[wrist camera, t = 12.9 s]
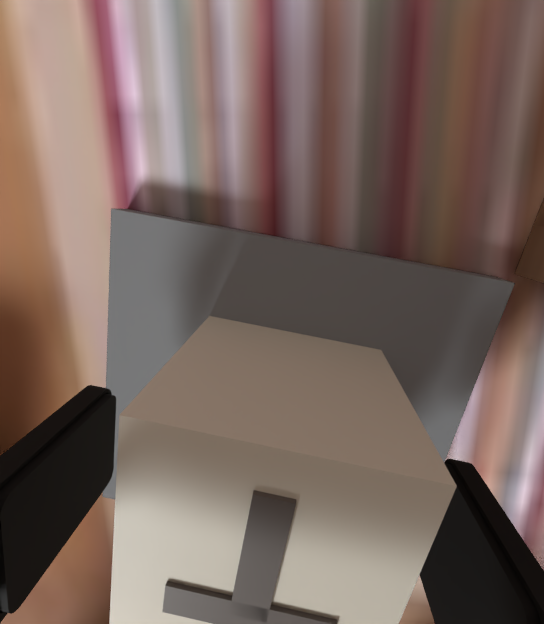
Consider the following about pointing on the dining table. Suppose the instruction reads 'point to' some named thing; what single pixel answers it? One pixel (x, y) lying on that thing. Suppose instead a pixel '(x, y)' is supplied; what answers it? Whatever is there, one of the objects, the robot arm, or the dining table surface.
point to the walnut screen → (534, 251)
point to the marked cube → (272, 485)
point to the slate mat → (295, 308)
